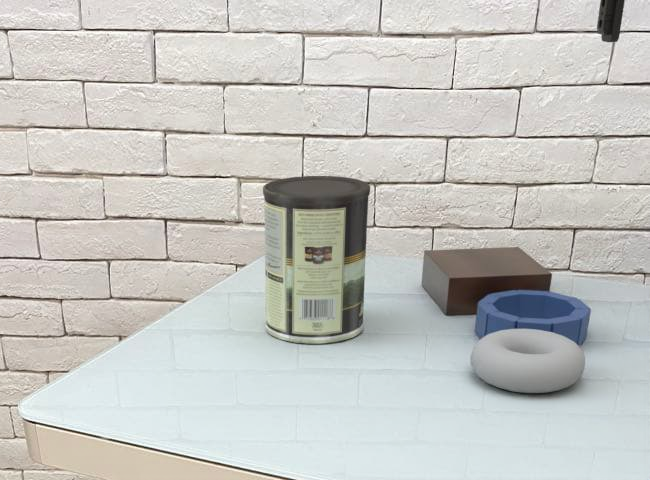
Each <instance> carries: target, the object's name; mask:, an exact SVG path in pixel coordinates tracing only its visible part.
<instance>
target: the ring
mask: <svg viewBox="0 0 650 480" xmlns="http://www.w3.org/2000/svg"><path fill="white" fill-rule="evenodd" d="M591 313H592V309H591V307H590V306H589V305H587V304H586V303H585V302H583V301H582V300H581V299H579V298H577V297H573V296H570V295H566V294H563V293H559V292H554V291H550V292H549V293H548V291H533V290H517V291H516V290H511V291H505V292H498V293H492V294H488V295H487V296H486V297H484V298H483V299H482V300H480V301H479V302H478V306H477V314H475V325H474V333H475V334H476V336H477V337H478V338H479V340H480V339H482V338H483V337H485V336H486V335H488V334H490V333H494V332H497V331H501V330H508V329H536V330H543V331H548V332H553V333H556V334H559V335H562V336H564V337H566V338H568V339H570V340H572V341H574V342H575V343H576V344H577V345H578V346H579V347H580V346H581V345H582V344H583V343H584V342H585V340H587V336H588V331H589V325H590V319H591Z"/></svg>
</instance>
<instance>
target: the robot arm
mask: <svg viewBox="0 0 650 480" xmlns="http://www.w3.org/2000/svg"><path fill="white" fill-rule="evenodd" d="M625 3H626V2H625V0H600V1H599V10H598V17H597V24H596V30H597V34H598V35H601V41H602V42H603V43H617V42H618V41H619V38H620V33H621V28H622V20H623V15H624V8H625Z"/></svg>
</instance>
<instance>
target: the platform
mask: <svg viewBox="0 0 650 480" xmlns="http://www.w3.org/2000/svg"><path fill="white" fill-rule="evenodd" d="M422 263H423V264H422V274H421V286H422V287H423V289H424V290H425V291H426V293H427V294H428V295H429V296H430V298H431V299H432V300H433V301H434V303H435V304H436V305H437V306H438V307H439V309H440V310H441V311H442V312H443V314H444V315H445V316H460V315H477V306H478V302H479V301H480V300H482V299H483V298H484V297H486V296H487V295H488V294H492V293H498V292H505V291H511V290H516V291H517V290H533V291H548V293H549V292H551V285H552V277H553V273H552V272H551V271H549V270H548V269H547V268H546V267H544V266H543V265H542V264H540V263H539V261H536V259H534V258H533V257H532V256H531V255H530V254H528V253H527V252H526V251H524V250H523V249H522V248H520V247H519V246H506V247H505V246H504V247H503V246H502V247H481V248H480V247H479V248H456V249H455V248H454V249H453V248H451V249H431V250H429V249H428V250H424V251H423V260H422Z"/></svg>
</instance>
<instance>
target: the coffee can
mask: <svg viewBox="0 0 650 480" xmlns="http://www.w3.org/2000/svg"><path fill="white" fill-rule="evenodd" d="M370 194H371V185H370V184H369V183H368V182H366V181H364V180H361V179H357V178H353V177H345V176H335V175H303V176H292V177H285V178H279V179H276V180H272V181H269V182H268V183H266V184H264V185H263V186H262V195H263V197H264V199H263V200H264V201H263V202H264V203H263V205H264V252H265V253H264V258H265V260H264V263H265V264H264V269H265V270H264V271H265V277H264V278H265V283H264V284H265V287H264V289H265V325H264V328H265V331H266V332H267V333H268V334H269V335H271V337H274V338H276V339H280V340H282V341H286V342H291V343H295V344H307V345H308V344H309V345H310V344H311V345H317V344H318V345H321V344H331V343H332V344H333V343H339V342H343V341H346V340H349V339H352V338H354V337H356V336H357V337H358V335H360V334H361V333H362V332H363V330H364V307H365V306H364V304H365V279H366V277H365V276H366V253H367V238H368V237H367V233H368V232H367V231H368V215H369V214H368V211H369V196H370Z"/></svg>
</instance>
